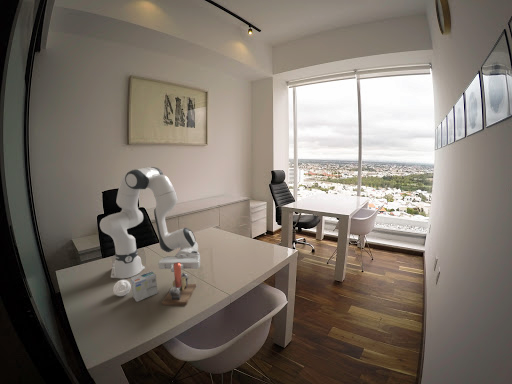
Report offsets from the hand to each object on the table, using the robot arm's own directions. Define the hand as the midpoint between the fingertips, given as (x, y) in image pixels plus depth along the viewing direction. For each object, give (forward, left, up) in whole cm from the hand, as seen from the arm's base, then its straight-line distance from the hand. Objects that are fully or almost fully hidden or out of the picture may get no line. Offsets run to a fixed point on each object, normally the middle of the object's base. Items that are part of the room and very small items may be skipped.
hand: (174, 270), depth 108 cm
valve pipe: (-7, +4, -16) cm, 18 cm away
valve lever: (-2, +2, -9) cm, 9 cm away
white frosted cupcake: (-27, -19, -18) cm, 37 cm away
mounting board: (-7, +4, -18) cm, 20 cm away
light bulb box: (-19, -10, -18) cm, 28 cm away
